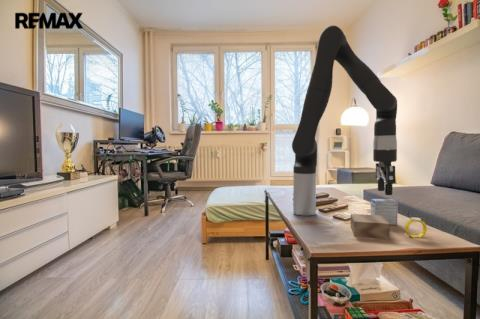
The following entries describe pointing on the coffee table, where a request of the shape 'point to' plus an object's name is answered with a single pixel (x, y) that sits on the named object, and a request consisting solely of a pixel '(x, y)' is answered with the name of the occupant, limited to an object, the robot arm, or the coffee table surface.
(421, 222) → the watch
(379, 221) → the walnut block
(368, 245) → the coffee table surface
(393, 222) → the medicine box
